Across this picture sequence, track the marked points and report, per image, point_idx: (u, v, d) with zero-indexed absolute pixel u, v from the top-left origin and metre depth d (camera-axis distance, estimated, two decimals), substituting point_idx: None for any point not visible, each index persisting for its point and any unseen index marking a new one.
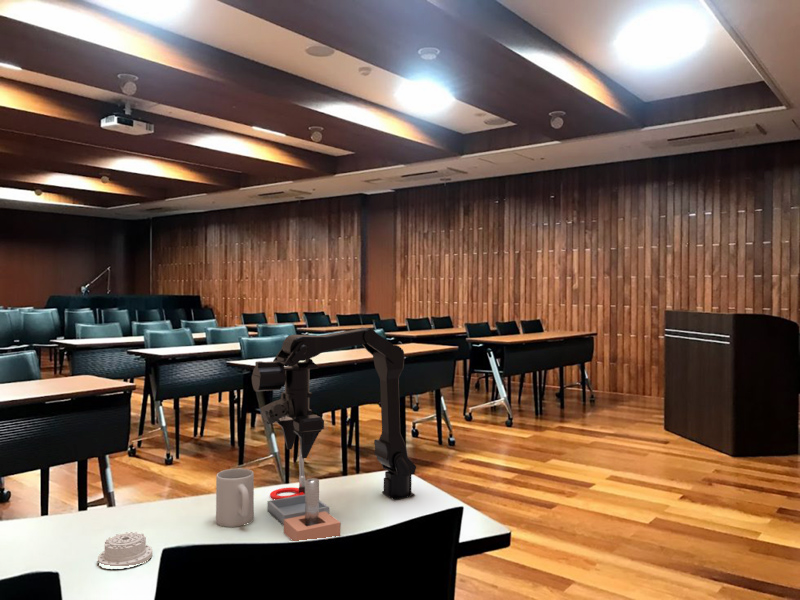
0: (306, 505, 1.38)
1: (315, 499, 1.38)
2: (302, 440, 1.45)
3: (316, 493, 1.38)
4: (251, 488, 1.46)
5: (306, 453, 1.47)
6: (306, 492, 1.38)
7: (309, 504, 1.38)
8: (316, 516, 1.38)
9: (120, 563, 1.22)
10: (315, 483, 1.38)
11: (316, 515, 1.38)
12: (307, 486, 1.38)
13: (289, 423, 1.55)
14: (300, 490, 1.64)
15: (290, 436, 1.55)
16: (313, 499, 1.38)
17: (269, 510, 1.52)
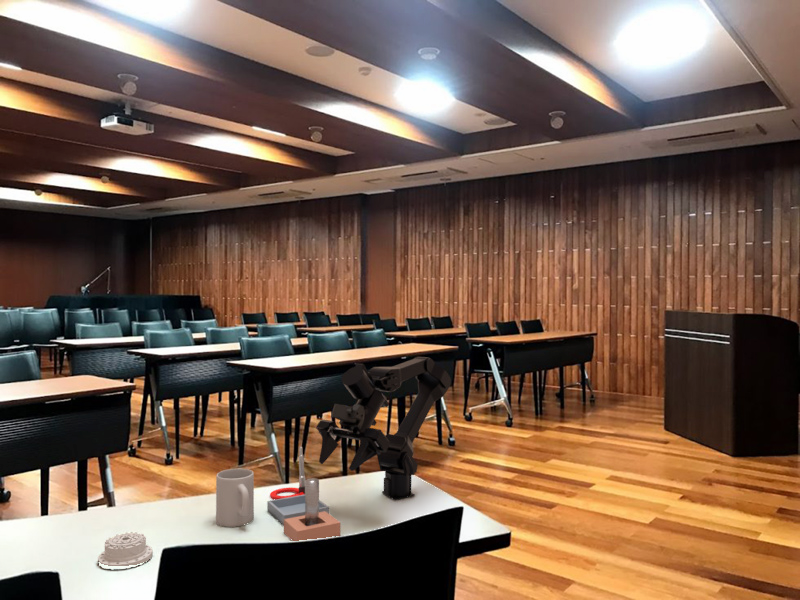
0: (306, 505, 1.38)
1: (315, 499, 1.38)
2: (363, 450, 1.44)
3: (316, 493, 1.38)
4: (251, 488, 1.46)
5: (355, 466, 1.43)
6: (306, 492, 1.38)
7: (309, 504, 1.38)
8: (316, 516, 1.38)
9: (120, 563, 1.22)
10: (315, 483, 1.38)
11: (316, 515, 1.38)
12: (307, 486, 1.38)
13: (331, 439, 1.52)
14: (300, 490, 1.64)
15: (327, 452, 1.50)
16: (313, 499, 1.38)
17: (269, 510, 1.52)
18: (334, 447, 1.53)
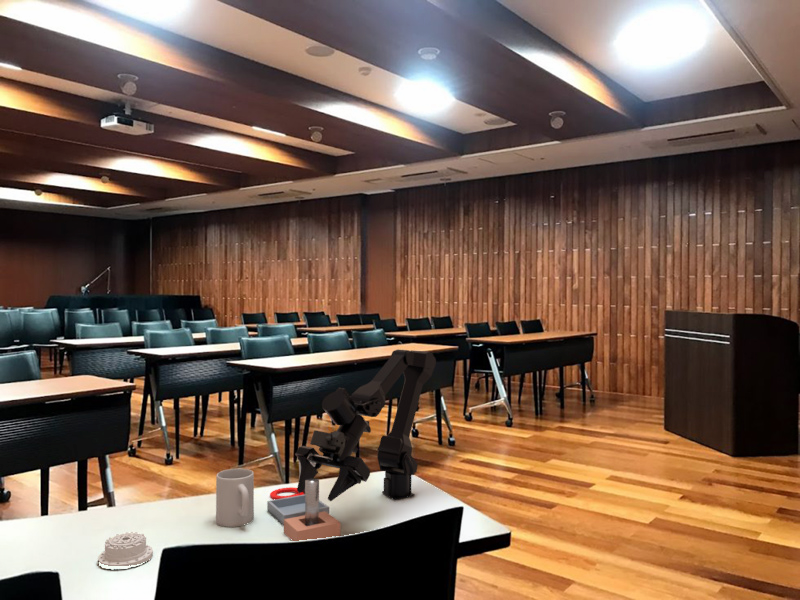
0: (306, 505, 1.38)
1: (315, 499, 1.38)
2: (342, 480, 1.38)
3: (316, 493, 1.38)
4: (251, 488, 1.46)
5: (334, 496, 1.37)
6: (306, 492, 1.38)
7: (309, 504, 1.38)
8: (316, 516, 1.38)
9: (120, 563, 1.22)
10: (315, 483, 1.38)
11: (316, 515, 1.38)
12: (307, 486, 1.38)
13: (311, 467, 1.46)
14: None
15: None
16: (313, 499, 1.38)
17: (269, 510, 1.52)
18: (314, 474, 1.47)
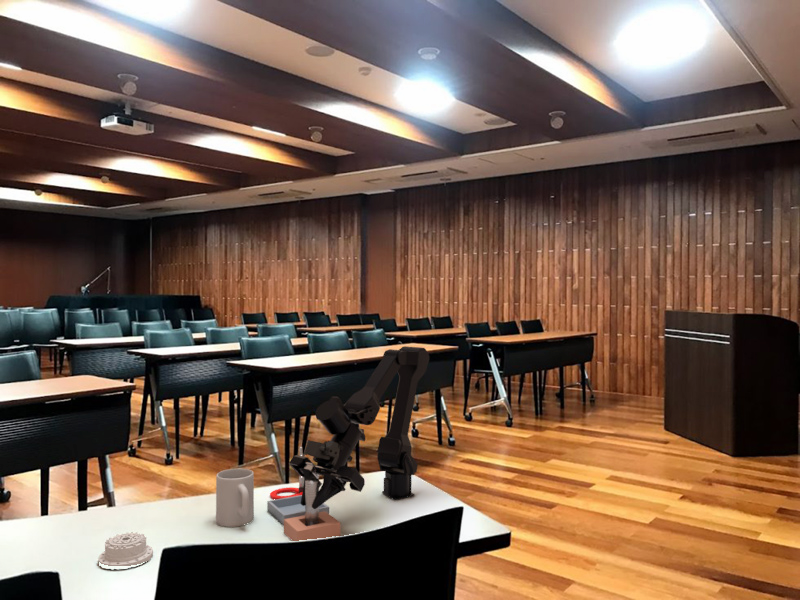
0: (306, 505, 1.38)
1: None
2: (326, 488, 1.38)
3: (316, 493, 1.38)
4: (251, 488, 1.46)
5: (318, 504, 1.38)
6: (306, 492, 1.38)
7: (309, 504, 1.38)
8: (316, 516, 1.38)
9: (120, 563, 1.22)
10: (315, 483, 1.38)
11: (316, 515, 1.38)
12: (307, 486, 1.38)
13: None
14: (300, 490, 1.64)
15: None
16: (313, 499, 1.38)
17: (269, 510, 1.52)
18: None
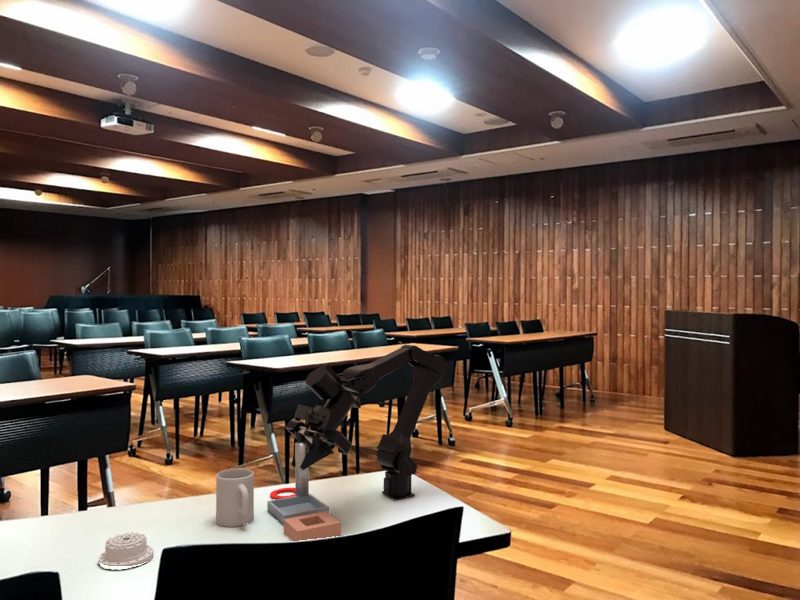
0: (296, 466, 1.45)
1: None
2: (314, 450, 1.44)
3: (305, 455, 1.44)
4: (251, 488, 1.46)
5: (306, 465, 1.44)
6: (295, 454, 1.45)
7: (298, 465, 1.44)
8: (305, 477, 1.44)
9: (121, 563, 1.22)
10: (303, 445, 1.44)
11: (305, 476, 1.44)
12: (296, 448, 1.44)
13: None
14: None
15: None
16: (302, 460, 1.44)
17: (269, 510, 1.52)
18: None
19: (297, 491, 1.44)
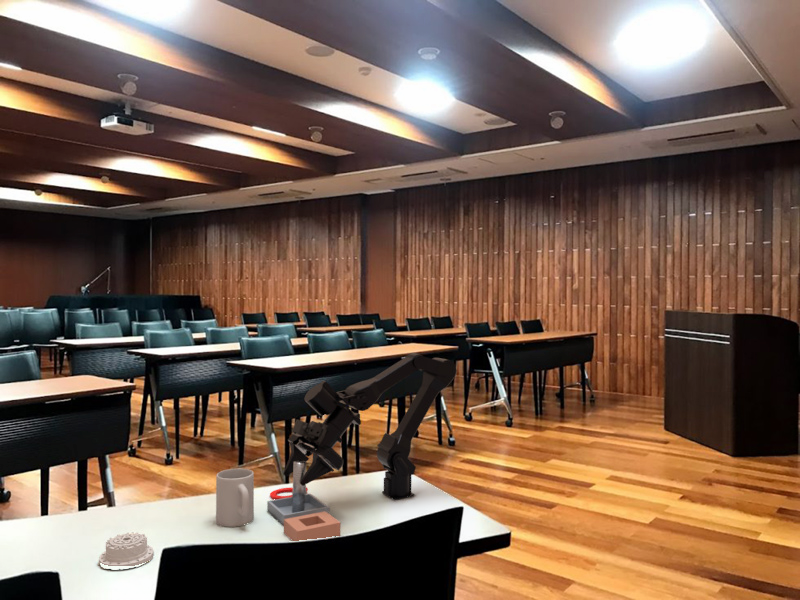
0: (293, 484, 1.51)
1: (300, 480, 1.50)
2: (313, 467, 1.47)
3: (301, 474, 1.50)
4: (251, 488, 1.46)
5: (306, 481, 1.47)
6: (293, 472, 1.51)
7: (295, 483, 1.50)
8: (301, 495, 1.50)
9: (121, 563, 1.21)
10: (300, 465, 1.50)
11: (301, 494, 1.50)
12: (294, 466, 1.50)
13: (300, 453, 1.57)
14: None
15: None
16: (298, 479, 1.50)
17: (269, 510, 1.52)
18: None
19: (293, 508, 1.50)
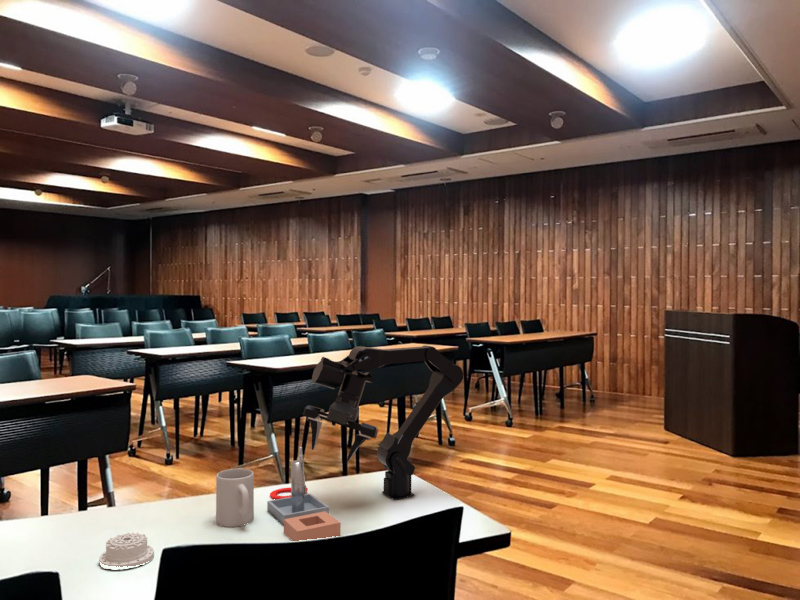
0: (291, 484, 1.51)
1: (298, 479, 1.50)
2: (358, 445, 1.56)
3: (299, 473, 1.50)
4: (251, 488, 1.46)
5: None
6: (291, 472, 1.51)
7: (293, 483, 1.50)
8: (300, 495, 1.50)
9: (121, 564, 1.21)
10: (297, 464, 1.50)
11: (300, 494, 1.50)
12: (291, 467, 1.50)
13: (319, 424, 1.59)
14: None
15: (316, 437, 1.58)
16: (297, 479, 1.50)
17: (269, 510, 1.52)
18: (320, 427, 1.61)
19: (292, 508, 1.50)
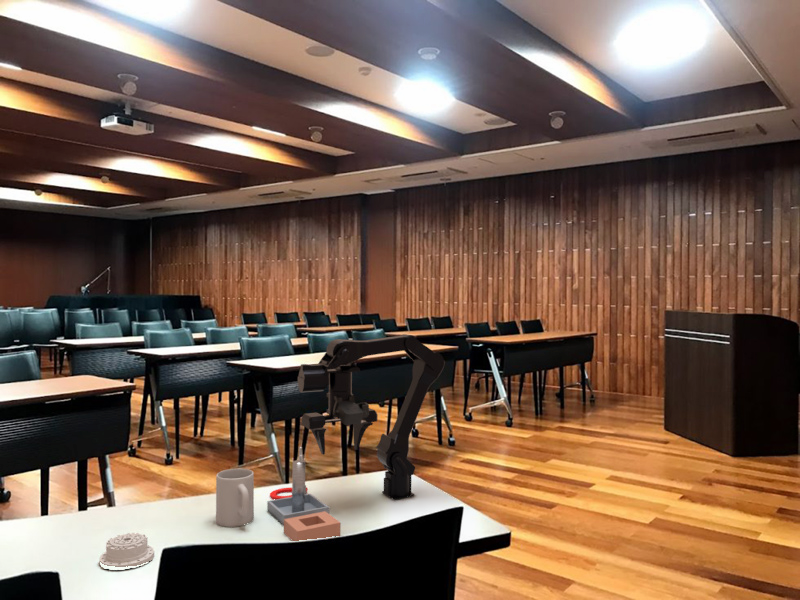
0: (292, 484, 1.51)
1: (299, 480, 1.50)
2: None
3: (301, 474, 1.50)
4: (251, 488, 1.46)
5: None
6: (292, 473, 1.51)
7: (294, 483, 1.50)
8: (300, 495, 1.50)
9: (122, 564, 1.21)
10: (299, 464, 1.50)
11: (300, 494, 1.50)
12: (293, 466, 1.50)
13: None
14: None
15: None
16: (298, 479, 1.50)
17: (269, 510, 1.52)
18: None
19: (293, 508, 1.50)
